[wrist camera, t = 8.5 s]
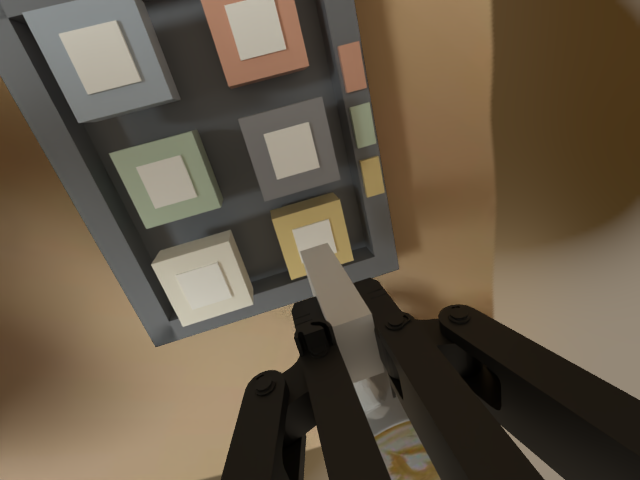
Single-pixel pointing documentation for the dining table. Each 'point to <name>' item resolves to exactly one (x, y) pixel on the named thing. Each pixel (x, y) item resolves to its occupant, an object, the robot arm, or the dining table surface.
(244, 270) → the key cream
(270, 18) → the key terracotta
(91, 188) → the keypad board
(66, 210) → the dining table surface
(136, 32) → the key slate
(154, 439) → the dining table surface
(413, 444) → the coffee mug
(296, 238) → the key ochre
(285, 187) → the key charcoal
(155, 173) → the key sage
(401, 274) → the dining table surface
